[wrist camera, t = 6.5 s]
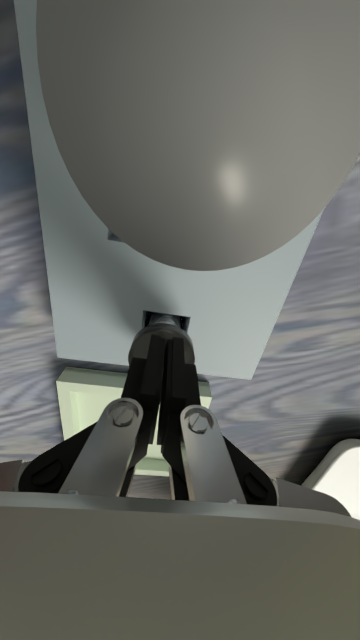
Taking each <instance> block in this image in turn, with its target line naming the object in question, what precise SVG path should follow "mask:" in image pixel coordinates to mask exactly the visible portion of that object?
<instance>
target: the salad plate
mask: <svg viewBox="0 0 360 640" xmlns="http://www.w3.org/2000/svg"><path fill="white" fill-rule="evenodd" d="M301 486H304V487H307V488H310V489H313V490H316V491H319V492H322V493H325V494H328V495H330V496H332V497H334V498H335V499H336V500H338V501H339V502H340V503H341V504H342V505H343V506H344V507H345V508H346V509H347V511H348V512H349V513H350V515H351V517H352V518H355V519H358V520H360V439H346V440H343V441H340V442H338V443H337V444H336V445H335V446H333V447H332V449H331V450H330V451H329V452H328V453H327V455H326V456H325V457H324V458H323V460H322V461H321V462H320V464H319V465H318V466H317V467H316V469H315V470H314V471H313V472H312V473H311V474H310V475H309V477H308V478H307V479H306V480H305V481H304V483H303V484H302V485H301Z"/></svg>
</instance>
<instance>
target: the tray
mask: <svg viewBox="0 0 360 640" xmlns="http://www.w3.org/2000/svg"><path fill="white" fill-rule="evenodd" d="M127 374H128V373H120V372H111V371H102V370H93V369H84V368H75V367H66V368H65V369H64V371H63V372H62V373H61V375H60V376H59V378H58V379H57V381H56V384H57V391H58V399H59V406H60V413H61V421H62V428H63V436H64V441H65V440H66V439H68V438H70V437H72V436H73V435H75V434H77V433H78V432H80V431H82V430H83V429H85V428H87V427H88V426H90V425H92V424H94V423H95V422H97V421H98V420H99V418H100V416H101V414H102V412H103V410H104V409H105V407H106V406H107V405H108V404H109V403H110V402H112V401H113V400H116V399H118V398H121V395H122V391H123V388H124V385H125V381H126V378H127ZM198 385H199V393H200V401H201V406H204V407H206V408H207V409H208V408H209V405H210V402H211V399H212V395H211V390H210V385H209V382H201V381H198ZM159 408H160V405H159ZM158 420H159V411H158V416H157V422H156V428H155V434H154V440H153V445H152V444H148V449H147V455H146V456H145V457H144V458H142V459H141V460H140V461H139V462H138V463H137V466H136V470H135V473H134V474H138V475H154V476H169V463H168V462H167V461H166V460H165V459H164V457H163V456H162V454H161V445H157V432H158Z"/></svg>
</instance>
